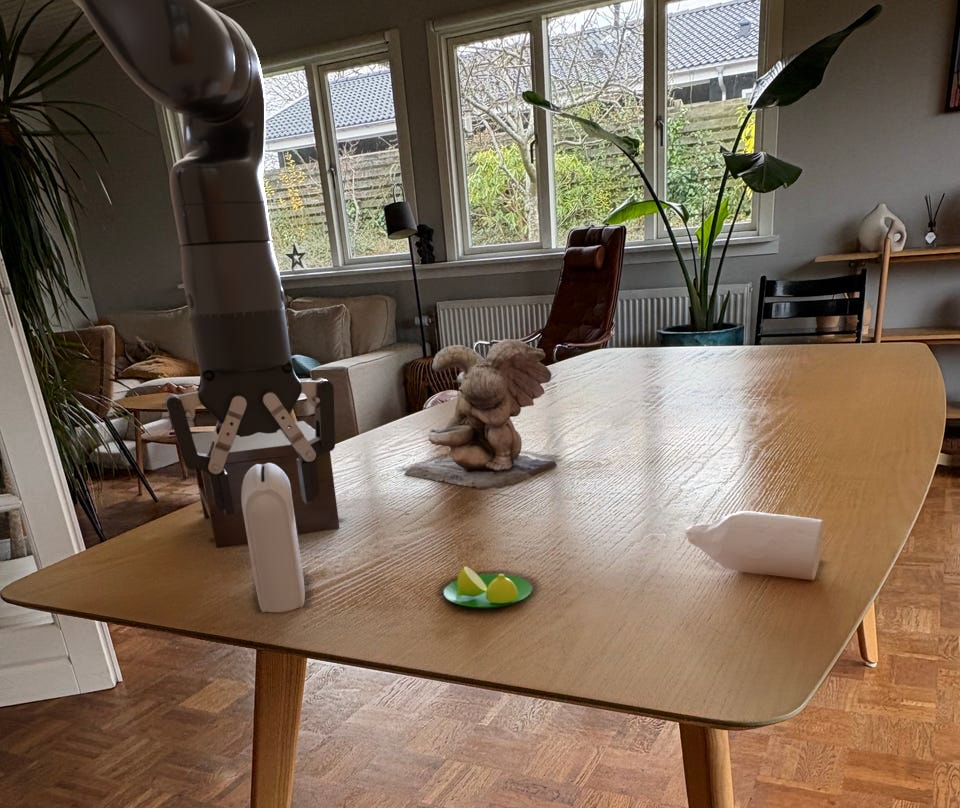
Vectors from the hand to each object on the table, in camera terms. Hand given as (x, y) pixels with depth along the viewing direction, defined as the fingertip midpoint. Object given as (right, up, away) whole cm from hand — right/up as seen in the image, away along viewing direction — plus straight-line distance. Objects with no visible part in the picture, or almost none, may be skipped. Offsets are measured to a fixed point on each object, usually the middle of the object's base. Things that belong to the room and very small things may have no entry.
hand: (268, 507), depth 74 cm
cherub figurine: (+19, +12, +46) cm, 51 cm away
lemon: (+20, -8, +2) cm, 21 cm away
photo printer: (0, -8, +4) cm, 9 cm away
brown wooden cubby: (-7, +2, +27) cm, 28 cm away
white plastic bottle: (+44, -5, +4) cm, 45 cm away
